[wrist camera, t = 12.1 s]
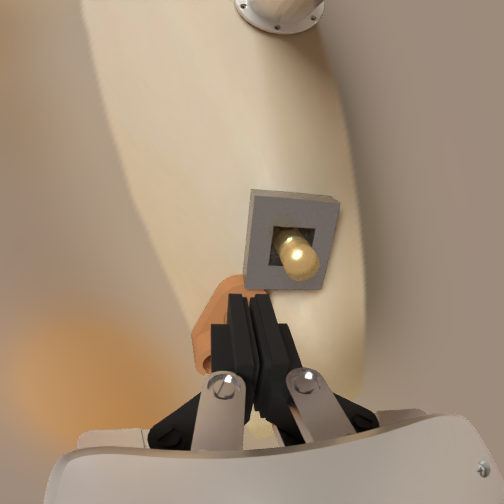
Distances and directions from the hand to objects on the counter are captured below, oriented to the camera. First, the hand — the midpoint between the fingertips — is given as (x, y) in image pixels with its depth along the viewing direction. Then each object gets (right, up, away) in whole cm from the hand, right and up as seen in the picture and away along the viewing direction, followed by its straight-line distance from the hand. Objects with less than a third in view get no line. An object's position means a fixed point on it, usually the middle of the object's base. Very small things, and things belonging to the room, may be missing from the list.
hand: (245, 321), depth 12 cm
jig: (+5, +5, +31) cm, 32 cm away
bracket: (-4, -8, +37) cm, 38 cm away
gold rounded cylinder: (+5, +5, +31) cm, 32 cm away
